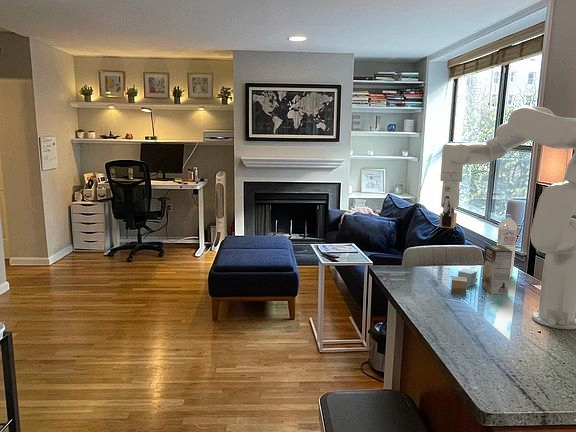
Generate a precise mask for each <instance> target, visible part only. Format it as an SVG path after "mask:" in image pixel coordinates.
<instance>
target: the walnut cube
mask: <svg viewBox="0 0 576 432" xmlns="http://www.w3.org/2000/svg"><path fill="white" fill-rule="evenodd" d="M467 287H468V286H467V278H465V277H458V276H454V275H452V276H451V285H450V293H451V294H455V295H463V296H466V295H467V291H468V290H467Z"/></svg>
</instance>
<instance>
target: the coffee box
mask: <svg viewBox="0 0 576 432" xmlns="http://www.w3.org/2000/svg"><path fill="white" fill-rule="evenodd" d="M512 252H513V251H511V250H509V249H508V248H506V247H504V246H502V245H497V244H485V245H484V253H483V255H484V256H483V266H482V276H481V277H482V278H481V287H482V288H483V289H485V291H487V292H488V294H489V293H490V294H491V295H509V290H510V289H509V287H510V278H511V277H510V270H511V261H512Z"/></svg>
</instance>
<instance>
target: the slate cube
mask: <svg viewBox="0 0 576 432" xmlns="http://www.w3.org/2000/svg"><path fill="white" fill-rule="evenodd" d="M477 273H478V271H477V270H473V269H469V268H463V269H460V270H458V271H457V277H465V278H467V287H470V286H471V287H472V286H475V285H476V284H477V275H478V274H477ZM475 283H476V284H475Z"/></svg>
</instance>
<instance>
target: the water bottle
mask: <svg viewBox="0 0 576 432" xmlns="http://www.w3.org/2000/svg"><path fill="white" fill-rule="evenodd" d="M505 216H506V217H505V218H504V219H502V220H501V221H500V222H499V223H498V227H497V228H498V230H497V231H498V232H497V240H496V245H502V246H504V247H506V248H508V249H509V250H511V251H513V252H512V261H511V270H510V276H511V277H513V272H514V262H515V252H516V240H517V231H518V224H517V223H516V222H515V220H514V219H512V214H509V213H508V214H506V215H505Z"/></svg>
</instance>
